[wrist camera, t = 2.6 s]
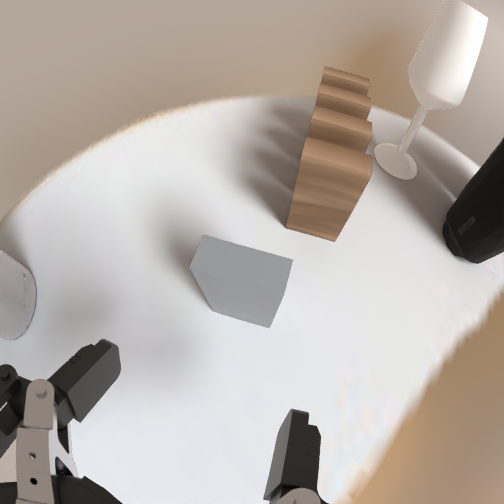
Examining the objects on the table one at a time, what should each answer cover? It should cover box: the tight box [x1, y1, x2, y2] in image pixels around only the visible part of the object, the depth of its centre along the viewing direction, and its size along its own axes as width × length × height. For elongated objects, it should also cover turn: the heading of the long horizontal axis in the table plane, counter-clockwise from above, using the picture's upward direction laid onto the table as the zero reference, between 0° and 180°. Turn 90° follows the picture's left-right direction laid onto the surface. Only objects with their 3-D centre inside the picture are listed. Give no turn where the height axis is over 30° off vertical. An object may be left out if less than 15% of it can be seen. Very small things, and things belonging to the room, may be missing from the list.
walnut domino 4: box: [286, 137, 372, 242], centre depth 22 cm, size 2×5×10 cm, turn 73°
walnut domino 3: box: [308, 106, 372, 154], centre depth 24 cm, size 2×5×10 cm, turn 73°
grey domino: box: [189, 235, 293, 328], centre depth 19 cm, size 2×5×10 cm, turn 73°
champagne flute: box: [374, 0, 488, 180], centre depth 20 cm, size 7×7×24 cm
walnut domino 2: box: [315, 83, 371, 120], centre depth 26 cm, size 2×5×10 cm, turn 73°
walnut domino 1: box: [321, 67, 370, 96], centre depth 28 cm, size 2×5×10 cm, turn 73°
